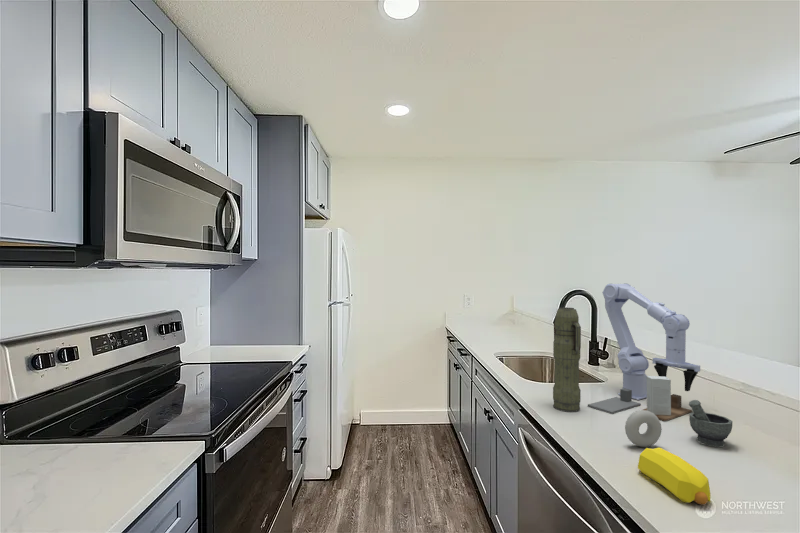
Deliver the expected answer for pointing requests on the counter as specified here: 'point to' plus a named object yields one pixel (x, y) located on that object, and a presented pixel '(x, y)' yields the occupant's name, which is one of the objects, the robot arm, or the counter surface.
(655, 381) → the skincare box
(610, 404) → the charcoal strip
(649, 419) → the donut
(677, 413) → the walnut strip
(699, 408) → the mortar and pestle
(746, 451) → the counter surface
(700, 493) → the yellow banana
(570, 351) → the thermos
